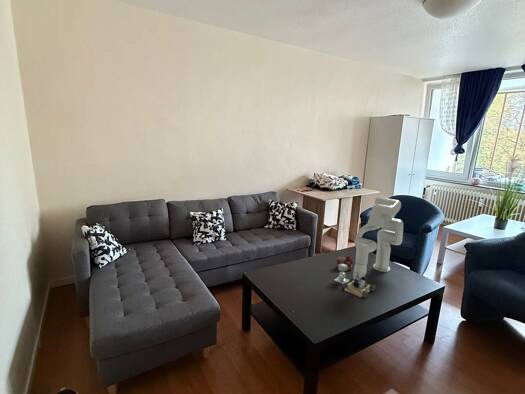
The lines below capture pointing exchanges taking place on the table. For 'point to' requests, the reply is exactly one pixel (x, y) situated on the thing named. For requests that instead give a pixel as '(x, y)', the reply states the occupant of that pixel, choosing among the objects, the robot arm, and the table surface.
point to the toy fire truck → (345, 261)
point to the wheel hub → (342, 267)
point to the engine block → (361, 284)
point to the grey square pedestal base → (341, 278)
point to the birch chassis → (357, 291)
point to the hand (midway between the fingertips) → (359, 284)
